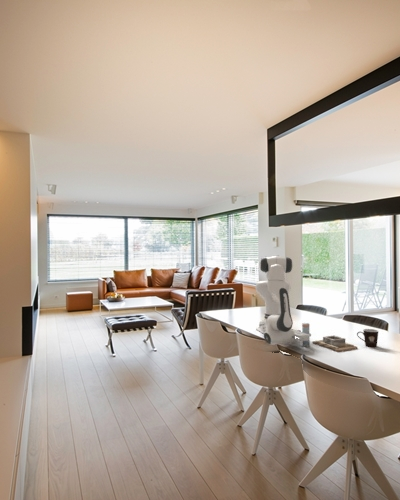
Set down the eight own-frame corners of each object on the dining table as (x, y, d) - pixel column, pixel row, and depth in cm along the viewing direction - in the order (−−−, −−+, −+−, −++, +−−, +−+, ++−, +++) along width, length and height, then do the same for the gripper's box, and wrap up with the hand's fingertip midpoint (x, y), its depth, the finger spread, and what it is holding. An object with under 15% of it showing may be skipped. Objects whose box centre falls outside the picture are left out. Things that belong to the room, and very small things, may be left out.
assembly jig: (312, 343, 223) (312, 335, 223) (330, 340, 229) (330, 332, 230) (338, 352, 203) (337, 343, 203) (357, 348, 209) (357, 340, 209)
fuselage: (300, 344, 220) (300, 323, 220) (306, 344, 221) (306, 322, 221) (305, 346, 215) (305, 324, 216) (311, 345, 217) (310, 324, 217)
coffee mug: (380, 346, 215) (380, 330, 215) (375, 348, 209) (375, 332, 209) (361, 342, 223) (361, 327, 223) (356, 345, 217) (356, 329, 217)
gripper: (298, 334, 203) (316, 331, 209) (278, 327, 222) (294, 325, 228) (298, 344, 203) (316, 341, 209) (278, 336, 222) (295, 334, 228)
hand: (305, 333), depth 218 cm, fingers open, 8 cm apart
